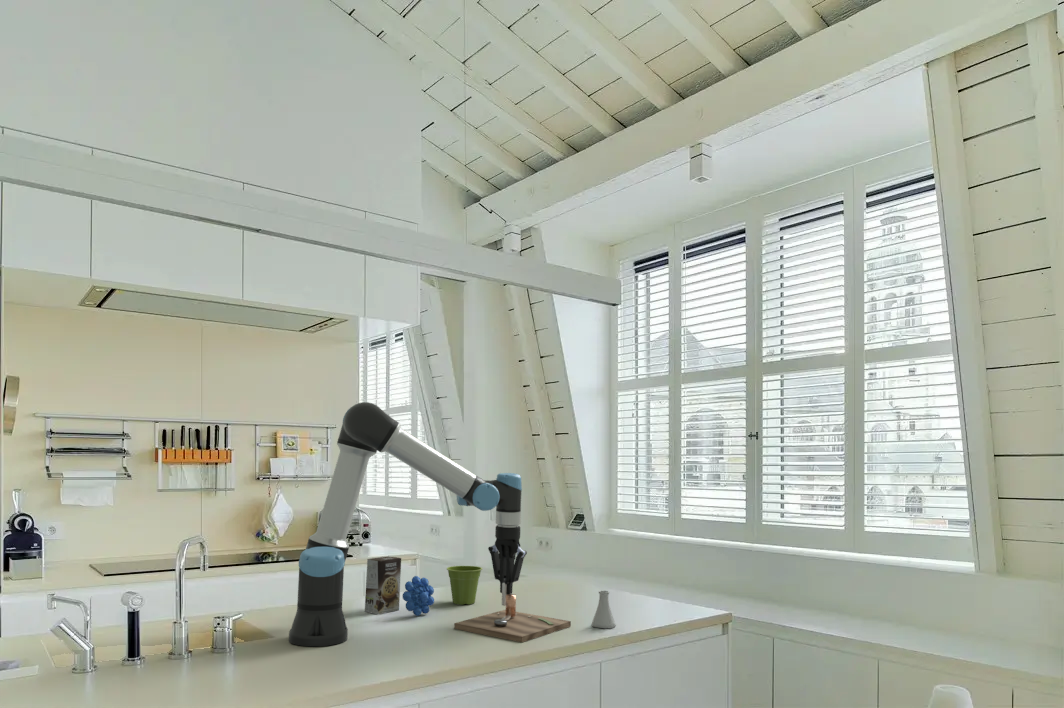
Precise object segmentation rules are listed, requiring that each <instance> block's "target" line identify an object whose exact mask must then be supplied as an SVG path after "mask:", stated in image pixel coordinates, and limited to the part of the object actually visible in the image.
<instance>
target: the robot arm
mask: <svg viewBox="0 0 1064 708" xmlns="http://www.w3.org/2000/svg"><path fill="white" fill-rule="evenodd" d="M339 431H340V432H339V435H338V439H337V441H336V442H337V443H336V446H337V447H338V449H339V450H340V451H339V454H338V458H337V461H336V464H335V468H334V472H333V474H332V478H331V481H330V485H329V488H328V491H327V494H326V498H325V502H324V505H323V508H322V511H321V515H320V518H319V522H318V525H317V528H316V532H314V533H313V534H312V535H310V536H309V537H308V540H307V544H306V547H305V549H304V550H302V552H301V553H300V555H299V559H298V582H297V583H298V584H297V603H296V604H297V605H296V606H297V607H296V613H295V616H294V618H293V622H292V625H291V628H290V629H289V631H288V642H289V643H290V644H292V645H296V646H303V647H325V646H333V645H334V646H335V645H337V644H341V643H343V642H346V641H347V640H348V636H349V635H348V633H349V632H348V627H347V623H346V618H345V615H344V612H343V596H344V595H343V592H344V591H343V590H344V574H345V572H344V570H345V569H344V568H345V564H346V563H345V562H346V560H347V558H348V557H347V556H348V553H349V550H350V545H349V542H348V541H347V537H348V533H349V531H350V530H349V529H350V527H351V523H352V519H353V516H354V512H355V508H356V506H357V503H358V499H359V497H360V492H361V488H362V485H363V481H364V477H365V474H366V471H367V468H368V464H369V460H370V458H371V457H373V456H375V455H377V452H379V453H388V454H389V455H391V456H393V457H395V458H396V459H398V460H399V461H400V462H402V463H404V464H406V465H407V466H409V467H410V468H412V469H414V470H415V471H417V472H419V473H421V474H422V475H424V476H425V477H427V478H428V479H430V480H432V481H433V482H435V483H436V484H438V485H440V486H441V487H443V488H444V489H447V490H448V491H449V492H451V493H453V494H454V495H456V502H457V504H458V505H459V506H463V507H464V506H465V507H470V506H471V507H472V506H473V507H475V508H477V509H478V510H480V511H483V512H486V511H491V510H493V509H495V524H496V526H495V535H494V537H495V539H496V540H495V541H494V544H492V545H490V546H488V548H487V549H488V552H489V553H490V558H491V564H492V568H493V570H492V571H493V576H494V579H495V580H497V581H499V584H500V585H499V592H500V593H501V606H503V607H506V595H507V594H513V585H514V583H515V582H518V581H519V580H520V576H521V572H522V567H523V563H524V559H525V557H526V555H527V553H528V552H527V550H523V549H522V548H521V543H520V539H521V526H520V525H521V522H522V521H521V519H522V517H521V516H522V511H521V510H522V491H523V488H522V477H521V475H520V474H519V473H512V472H503V473H501V472H500V473H498V474H497V475H496V478H495V479H492V480H488V479H487V480H485V479H482V478H481V477H479V476H478V475H476V474H475V473H473V472H471V471H470V470H469V469H467V468H465V467H464V466H462V465H461V464H459V463H457V462H456V461H454V460H452V459H450V458H449V457H448V456H446V455H444V454H443V453H441V452H440V451H438V450H436V449H435V448H433V447H431V446H430V445H429V444H427V443H425V442H423V441H422V440H420V439H419V438H417V437H415V436H414V435H412V434H411V433H409V432H407V431H406V430H404V429H403V428H402V427H401V423H400V422H398V421H397V420H395V419H394V418H392V417H391V416H390V415H389V414H387V413H386V412H385V411H384V410H383V409H382V408H380V407H379V406H378V405H376V404H374V403H372V402H369V401H365V402H364V401H363V402H359V403H355V404H354V405H352V406H350V407H349V408H348V409H347V411H346V412H345V413H344V416H343V418H342V424H341V428H340V430H339Z"/></svg>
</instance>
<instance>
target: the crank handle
mask: <svg viewBox="0 0 1064 708" xmlns="http://www.w3.org/2000/svg"><path fill="white" fill-rule="evenodd" d="M516 608H517V595H516V594H515V593H512V594H507V595H506V606H505V610H506V613H505V617H504V618H502V619H498V620H494V625H496V626H505V625H507V620H509V619H510V618H511V617H515V616H516V612H517V609H516Z"/></svg>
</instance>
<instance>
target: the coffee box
mask: <svg viewBox="0 0 1064 708" xmlns="http://www.w3.org/2000/svg"><path fill="white" fill-rule="evenodd" d="M401 569H402V557H396V556H382V557H372V558H367V562H366V577H365V578H366V581H365V596H364V597H365V600H364V612H367V613H371V614H375V615H382V614H386V613H391V612H396V611H399V610H400V601H401V600H400V599H401V598H400V596H401V576H402V575H401V574H402V573H401V572H402V570H401Z"/></svg>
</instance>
